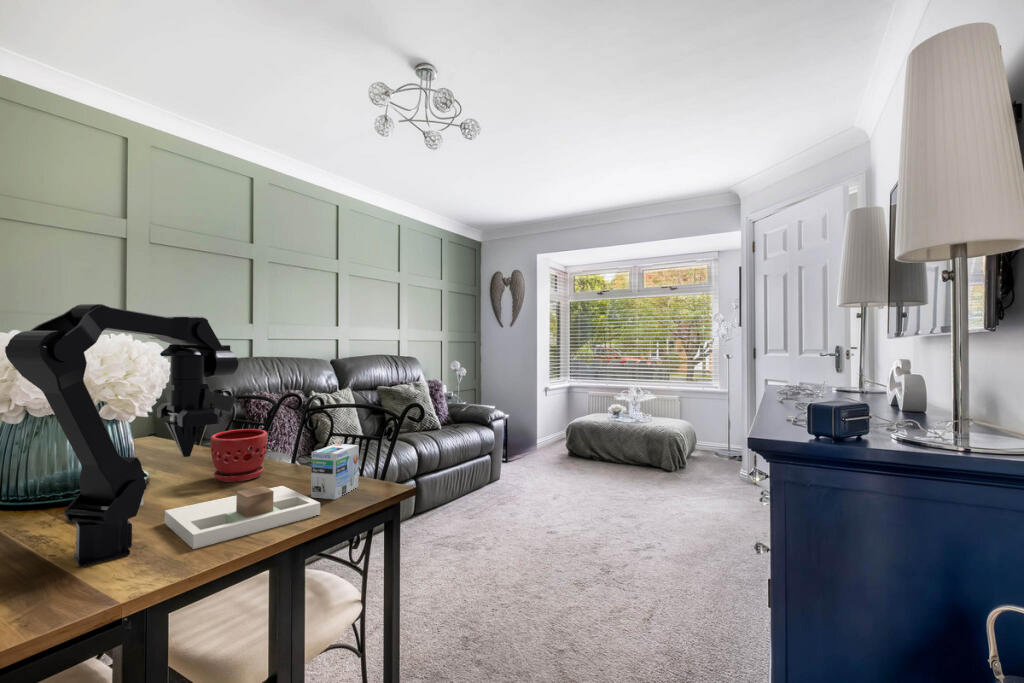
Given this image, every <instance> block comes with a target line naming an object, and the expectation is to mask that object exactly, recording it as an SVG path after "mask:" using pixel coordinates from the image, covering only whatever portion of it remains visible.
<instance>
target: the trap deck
mask: <svg viewBox="0 0 1024 683" xmlns="http://www.w3.org/2000/svg"><path fill="white" fill-rule="evenodd" d="M268 489H270V490H272V491H273V511H272V512H268V513H264V514H260V515H256V516H252V517H248V518H245V517H244V516H242V515H241V514H239V513H237V512H236V498H237V494H236V495H232V496H227V497H224V498H218V499H212V500H209V501H203V502H198V503H194V504H190V505H185V506H180V507H175V508H170V509H165V510H164V524H165V525H166V526H167V527H168V528H169V529H171V531H173V532H174V533H175V534H176V535H177V536H178V537H179V538H180V539H181V540H182V541H184V542H185V543H186V544H187V545H188V546H189V547H190V548H191V549H193V550H195V549H199V548H203V547H206V546H210V545H213V544H218V543H222V542H224V541H229V540H232V539H233V540H234V539H237V538H239V537H244V536H246V535H251V534H255V533H258V532H263V531H266V530H268V529H272V528H277V527H281V526H284V525H287V524H291V523H295V522H299V521H303V520H307V519H310V518H313V516H314V517H317V516H316V515H318V516H320V515H321V502H319V501H317V500H315V499H313V498H312V497H309V496H306V495H304V494H301V493H299V492H297V491H295V490H293V489H291V488H288V487H286V486H284V485H279V486H275V487H269V488H268Z"/></svg>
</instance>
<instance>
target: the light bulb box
mask: <svg viewBox="0 0 1024 683" xmlns="http://www.w3.org/2000/svg"><path fill="white" fill-rule="evenodd" d="M359 451H360V445H359V444H347V443H333V444H331V445H328V446H326V447H323V448H320V449H317V450H314V451H311V462H310V464H311V466H310V467H311V470H310V471H311V472H310V478H311V479H310V480H311V481H310V483H311V484H310V498H312V499H313V498H315V499H327V500H337V499H339V498H341V497H343V496H344V494H345V495H346V493H347V494H348V492H349V493H350V492H352V491H354V490H356V489H358V488H359V458H360V457H359V456H360V452H359ZM357 487H358V488H357ZM355 488H356V489H355ZM353 489H354V490H353ZM351 490H352V491H351ZM342 495H343V496H342Z"/></svg>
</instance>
